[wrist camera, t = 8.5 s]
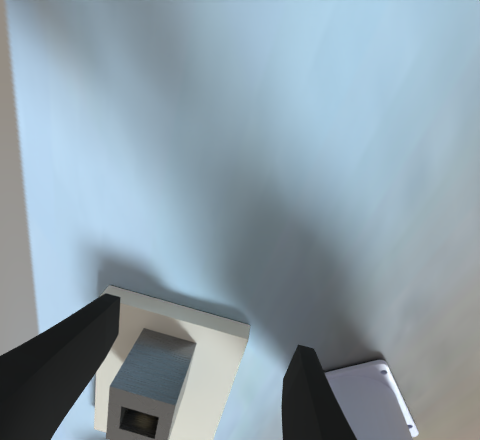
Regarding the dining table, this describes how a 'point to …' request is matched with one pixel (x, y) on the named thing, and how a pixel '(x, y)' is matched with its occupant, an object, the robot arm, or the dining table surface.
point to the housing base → (202, 368)
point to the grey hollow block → (149, 388)
